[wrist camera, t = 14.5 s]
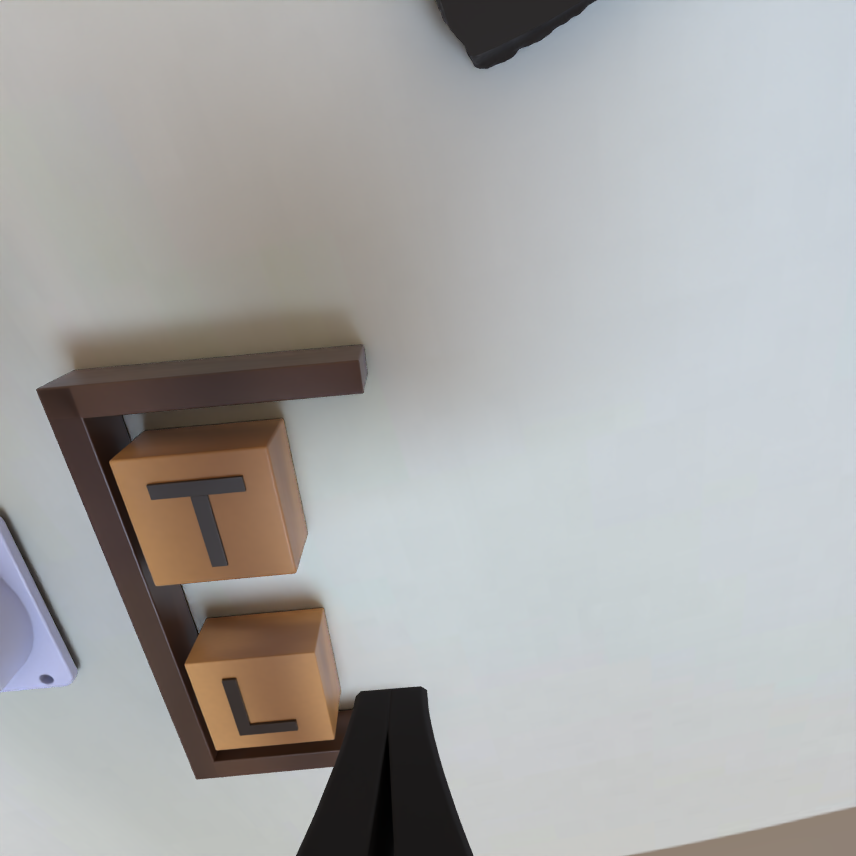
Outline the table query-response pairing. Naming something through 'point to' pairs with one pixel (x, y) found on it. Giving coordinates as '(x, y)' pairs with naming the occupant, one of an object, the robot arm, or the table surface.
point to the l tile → (266, 678)
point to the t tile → (213, 501)
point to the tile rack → (145, 602)
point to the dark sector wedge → (504, 24)
